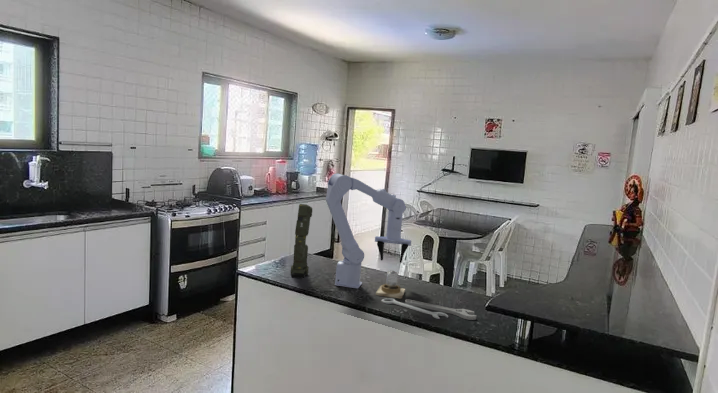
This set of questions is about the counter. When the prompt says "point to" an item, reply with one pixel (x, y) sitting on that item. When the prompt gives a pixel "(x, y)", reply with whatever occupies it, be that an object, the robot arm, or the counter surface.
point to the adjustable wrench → (444, 309)
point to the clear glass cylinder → (391, 280)
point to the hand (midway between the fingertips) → (391, 261)
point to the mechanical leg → (301, 242)
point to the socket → (390, 292)
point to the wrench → (414, 308)
